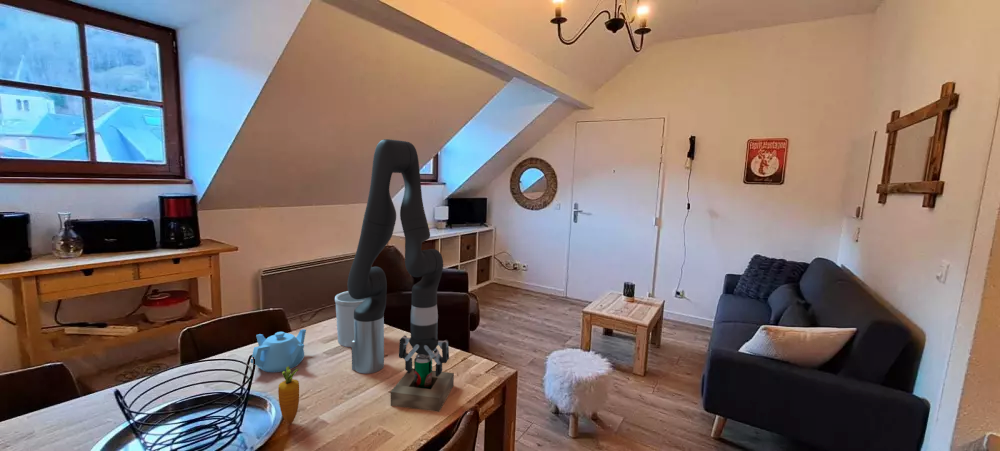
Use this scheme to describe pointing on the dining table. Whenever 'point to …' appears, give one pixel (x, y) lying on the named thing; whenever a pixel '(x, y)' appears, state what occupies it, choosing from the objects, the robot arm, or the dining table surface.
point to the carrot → (289, 396)
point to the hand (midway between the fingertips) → (423, 373)
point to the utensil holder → (346, 317)
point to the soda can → (423, 371)
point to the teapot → (279, 351)
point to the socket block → (422, 392)
